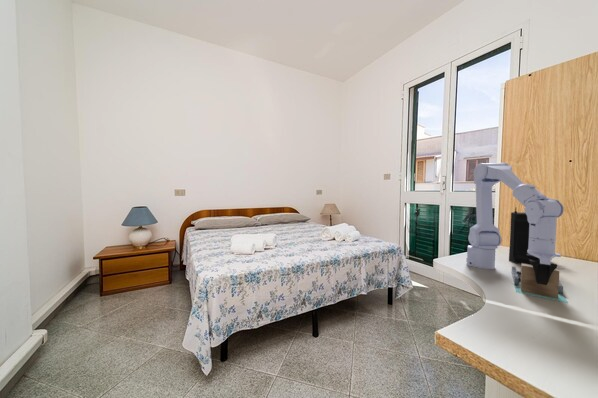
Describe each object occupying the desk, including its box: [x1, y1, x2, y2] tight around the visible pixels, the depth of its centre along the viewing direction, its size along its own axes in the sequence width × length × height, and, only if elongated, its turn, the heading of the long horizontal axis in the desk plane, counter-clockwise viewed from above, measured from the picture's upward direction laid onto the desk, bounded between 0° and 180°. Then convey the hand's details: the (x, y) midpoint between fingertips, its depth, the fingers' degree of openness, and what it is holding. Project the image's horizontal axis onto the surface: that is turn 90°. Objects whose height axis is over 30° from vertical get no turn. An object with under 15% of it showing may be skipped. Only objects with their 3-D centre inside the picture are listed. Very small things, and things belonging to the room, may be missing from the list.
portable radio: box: [508, 207, 531, 265], centre depth 99 cm, size 8×6×25 cm
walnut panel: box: [520, 263, 560, 299], centre depth 71 cm, size 8×2×8 cm, turn 50°
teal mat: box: [514, 285, 569, 304], centre depth 72 cm, size 11×6×1 cm, turn 50°
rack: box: [510, 265, 564, 295], centre depth 80 cm, size 11×14×3 cm
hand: (539, 280), depth 71 cm, fingers open, 6 cm apart
